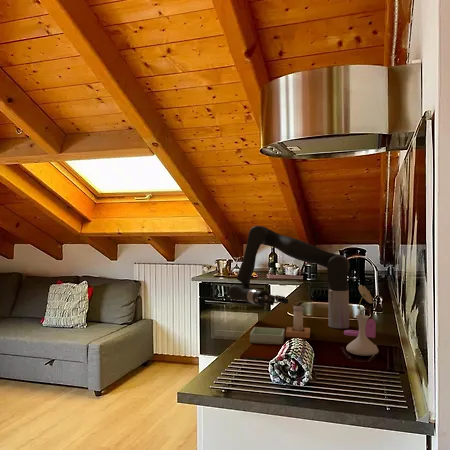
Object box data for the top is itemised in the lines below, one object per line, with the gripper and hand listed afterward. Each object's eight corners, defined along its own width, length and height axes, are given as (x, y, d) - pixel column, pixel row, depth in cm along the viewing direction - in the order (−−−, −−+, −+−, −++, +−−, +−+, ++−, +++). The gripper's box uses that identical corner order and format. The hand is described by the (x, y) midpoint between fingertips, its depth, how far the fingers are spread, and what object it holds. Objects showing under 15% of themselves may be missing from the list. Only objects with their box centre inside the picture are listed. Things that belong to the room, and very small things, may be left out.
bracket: (375, 335, 196) (375, 319, 196) (375, 338, 191) (375, 321, 191) (344, 332, 201) (344, 317, 201) (343, 335, 195) (343, 319, 195)
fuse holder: (310, 332, 200) (310, 328, 200) (309, 337, 190) (309, 333, 190) (287, 331, 202) (287, 327, 202) (285, 336, 192) (285, 331, 192)
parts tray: (284, 336, 191) (284, 328, 191) (282, 344, 179) (282, 335, 179) (253, 335, 194) (253, 327, 194) (249, 342, 181) (249, 334, 181)
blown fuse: (303, 333, 197) (303, 306, 198) (302, 336, 193) (303, 307, 193) (293, 333, 198) (293, 305, 198) (293, 335, 194) (293, 307, 194)
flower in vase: (380, 359, 159) (380, 288, 159) (347, 357, 161) (347, 287, 162) (375, 349, 172) (376, 283, 172) (344, 347, 174) (345, 282, 174)
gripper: (246, 290, 215) (268, 294, 201) (269, 288, 223) (292, 292, 209) (246, 306, 215) (268, 311, 201) (269, 303, 223) (292, 309, 209)
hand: (280, 302), depth 205 cm, fingers open, 8 cm apart
